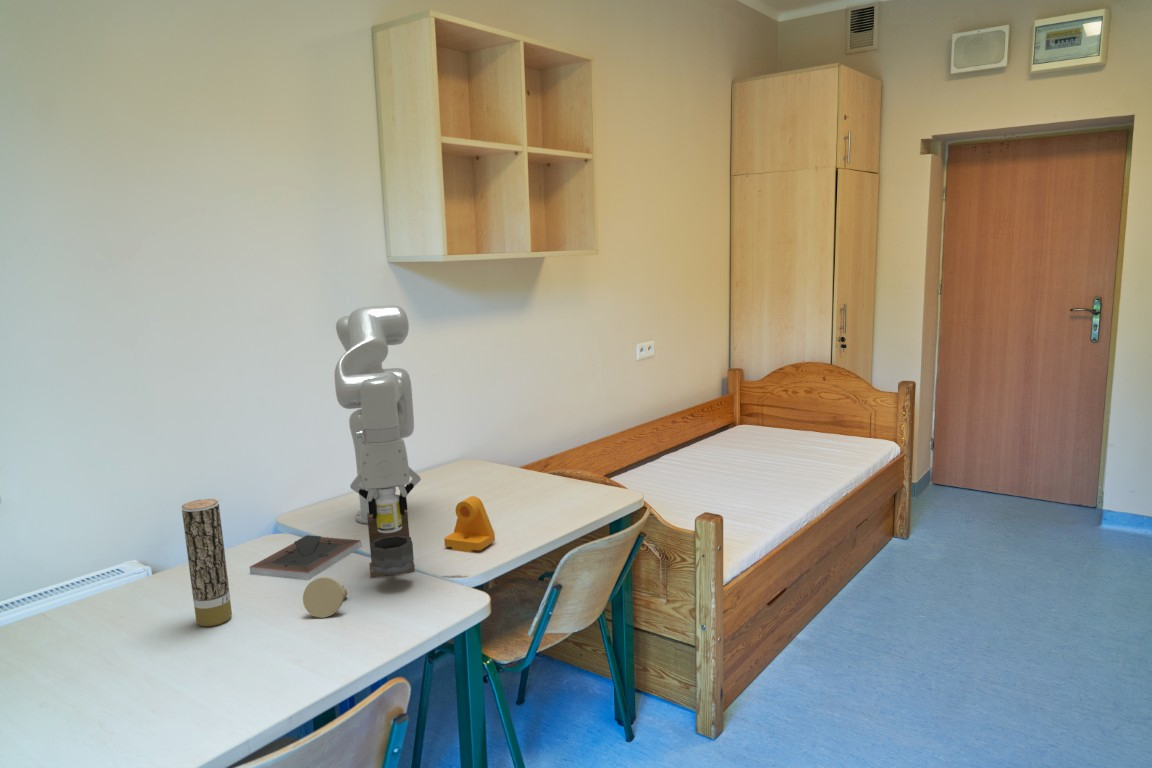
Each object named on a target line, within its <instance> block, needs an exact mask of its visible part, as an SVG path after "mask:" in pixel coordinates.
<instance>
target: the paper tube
mask: <svg viewBox="0 0 1152 768" xmlns="http://www.w3.org/2000/svg"><path fill="white" fill-rule="evenodd" d="M181 514H182V521H183V529H184V538H185V545H186V553H187V560H188V561H187V562H188V569H189V576H190V577H189V578H190V583H191V593H192V599H193V601H192V602H193V607H194V613H195V621H196V623H197V625H198V626H201V627H215V626H219V625H222V624H225V623H226V622H228V621H229V620H230V619H231V617H232V615H233V614H232V613H233V612H232V605H231V604H232V602H231V594H230V585H229V578H228V569H227V560H226V553H225V552H226V551H225V543H224V536H223V528H222V519H221V510H220V503H219V500H218V499H216V498H203V499H195V500H192V501H189V502H186V503H184V504H182V505H181Z"/></svg>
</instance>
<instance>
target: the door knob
mask: <svg viewBox="0 0 1152 768" xmlns="http://www.w3.org/2000/svg"><path fill="white" fill-rule="evenodd" d="M347 596H348V590H347V588H346V587H345V586H344V584H343V585H341V584H340V583H339V582H338V581H337V580H336V579H334V578H332V577H329V576H328V577H326V576H325V577H324V576H323V577H318V578H315V579H313V580H312V581H310V582H309V583H308V584H307V586H306V587H305V588H304V590H303V595H302V603H303V607H304V609H305V610H306V611H307V613H309V614H310V615H311V616H313V617H316V618H321V619H323V618H327V617H330V616H332V615H334V614H335V613H337V612H338V611H339V610H340V608H341V607H342V605H343V602H344V599H346V597H347Z"/></svg>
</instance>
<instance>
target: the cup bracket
mask: <svg viewBox="0 0 1152 768" xmlns="http://www.w3.org/2000/svg"><path fill="white" fill-rule="evenodd" d="M404 512H405V515H401V518H402V529H400V530H399V531H396V532H393V533H381V532H379V531H378V529H377V520H376V518H375V519H373V514H370V515H369V513H367V518H368V524H367V527H368V528H367V529H368V538H369V550H370V551H369V552H370V561H371V562H369V564H368V565H369V572H370V574H369V575H370V578H379V577H386V576H387V577H388V576H394V575H400V574H408V573H413V572H414V573H415V572H416V570H415V567H416V566H415V563H414V560H415V558H414V547H413V539H412V536H410V527H409V526H410V525H409V514H408V509H407V510H404Z"/></svg>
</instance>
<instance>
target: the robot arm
mask: <svg viewBox="0 0 1152 768" xmlns="http://www.w3.org/2000/svg"><path fill="white" fill-rule="evenodd" d="M407 315H408V314H407V313H406V311H405V310H404V309H403V308H402V307H401V306H399V305H395V304H394V305H380V306H379V305H377V306H376V305H375V306H363V307H359V308H357V309H355V310H353V311H352V312H351V313H350V314H349V315H346V316H342V317H340V318H338V320H337V321H336V324H335V331H336V334H337V336H338V337H337V338H338V340H339V341H340V343H341V345H342V347H343V349H344V350H345V352H344V353H343V354H342V356H340V358H339V360H337V363H336V366H335V368H334V389H335V395H336V400H337V402H338V404H339V405H340V407H342V408H344V409H347V410H348V409H349V410H353V409H356V410H355V411H353V412H352V413H351V414H350V416H349V418H348V422H349V423H348V424H349V430H350V434H351V438H352V442H353V447H354V455H355V464H356V474H357V476H356V477H355V478H354V479H353V481H352V482H351V483H350V486H349V487H350V489H351V490H352V491H354V492H355V493H357V494H358V495H359V496H358V497H359V498H358V499H359V505H360V506H359V508H360V511H358V512H357V513H356V514H355V520H356V522H358V523H361V524H367V525H368V518H367V513H369V515H370V514H373V519H375V518H376V508H375V499H376V497H378V496H379V495H378V494H377V489H381V488H389V487H395V488H396V487H398V490H399V494H397V495H398V496H399V498H400V507H401V515H405V512H404V510H407V511H408V502H407V497H408V495H409V494H410V492H411V491H412V490H413V489H414V488H415V487H416V486H417V485H418V483H420V481H421V480H422V478H421V476H420V475H419V474H417V473H416V471H414V470H413V469H412V468H411V467H410V466H409V460H408V459H409V458H408V452H407V447H406V444H405V440H404V439H405V438H409V437H410V436H412V435H413V433H414V431H415V430H414V429H415V418H414V417H415V416H414V403H413V401H414V400H413V389H412V381H411V378H410V374H409V373H408V371H407V370H406V369H404V368H401V367H393V368H383V365H382V364H383V362H385V361H386V359H387V357H388V354H389V346H398V345H401V344H403V343H404V341H405V340H407V339H406V338H407V336H408V335H409V331H410V328H409V327H410V323H409V318H408V316H407ZM410 478H412V479H411V480H410Z"/></svg>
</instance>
